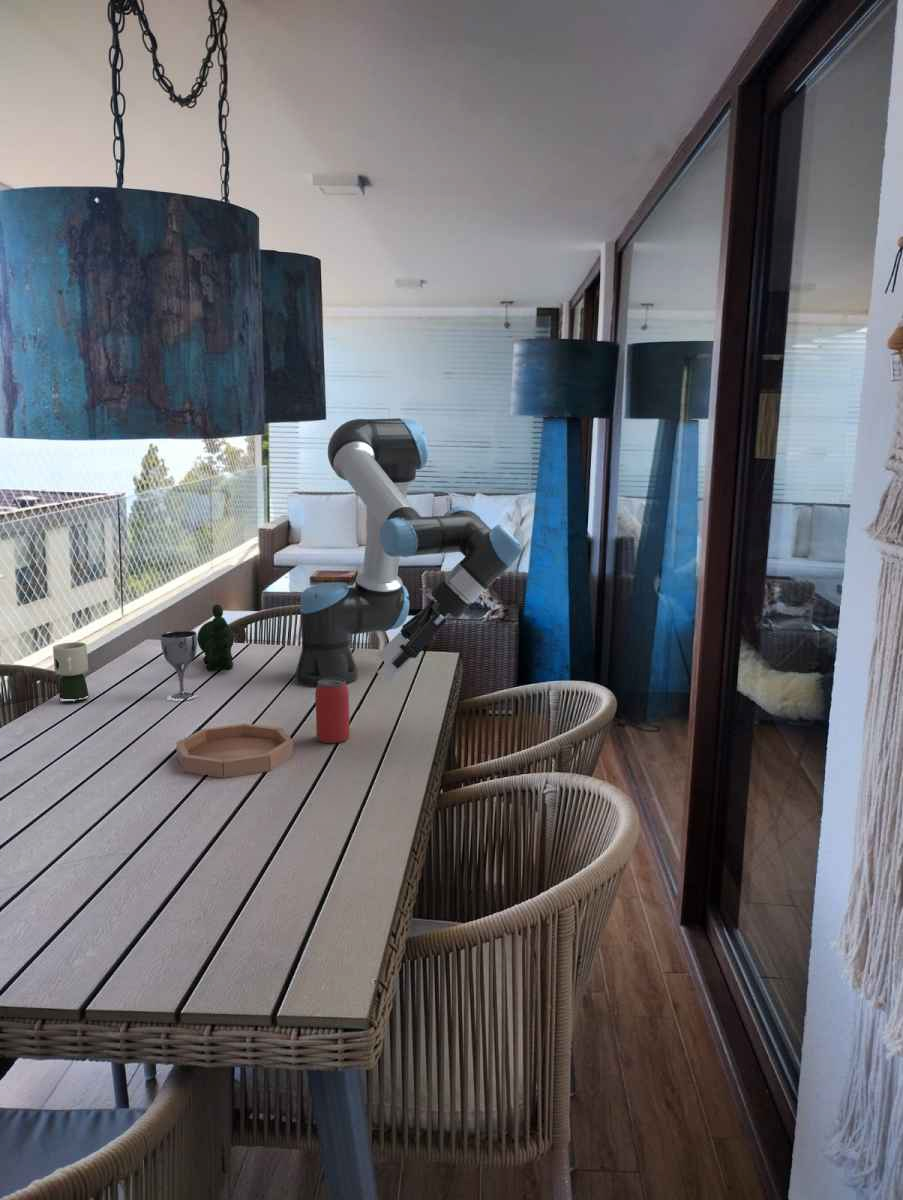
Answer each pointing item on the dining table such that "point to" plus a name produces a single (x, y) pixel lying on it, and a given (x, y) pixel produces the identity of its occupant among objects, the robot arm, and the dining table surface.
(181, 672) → the wine glass
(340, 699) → the beer can
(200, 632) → the toy figurine
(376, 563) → the robot arm
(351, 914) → the dining table surface
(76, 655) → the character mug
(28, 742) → the dining table surface
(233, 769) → the terracotta saucer
